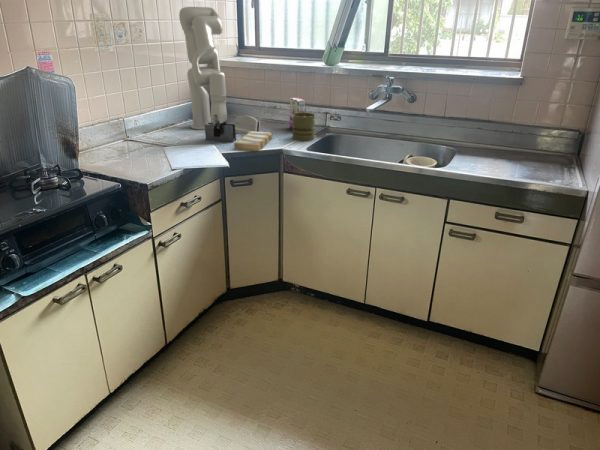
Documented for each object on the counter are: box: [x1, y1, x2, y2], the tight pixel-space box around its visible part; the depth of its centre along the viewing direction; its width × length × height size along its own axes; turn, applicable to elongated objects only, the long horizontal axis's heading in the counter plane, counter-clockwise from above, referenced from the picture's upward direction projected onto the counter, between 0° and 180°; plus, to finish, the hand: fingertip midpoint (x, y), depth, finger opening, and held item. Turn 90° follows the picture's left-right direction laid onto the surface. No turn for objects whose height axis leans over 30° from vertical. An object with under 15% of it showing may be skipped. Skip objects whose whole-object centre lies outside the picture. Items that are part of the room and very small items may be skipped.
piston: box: [291, 112, 316, 142], centre depth 226 cm, size 11×12×11 cm
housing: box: [204, 122, 237, 143], centre depth 220 cm, size 5×14×8 cm, turn 78°
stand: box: [233, 131, 274, 152], centre depth 216 cm, size 24×12×3 cm, turn 168°
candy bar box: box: [289, 97, 307, 130], centre depth 242 cm, size 11×5×16 cm, turn 25°
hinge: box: [233, 114, 261, 136], centre depth 236 cm, size 17×5×10 cm, turn 53°
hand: (220, 134), depth 220 cm, fingers open, 9 cm apart
